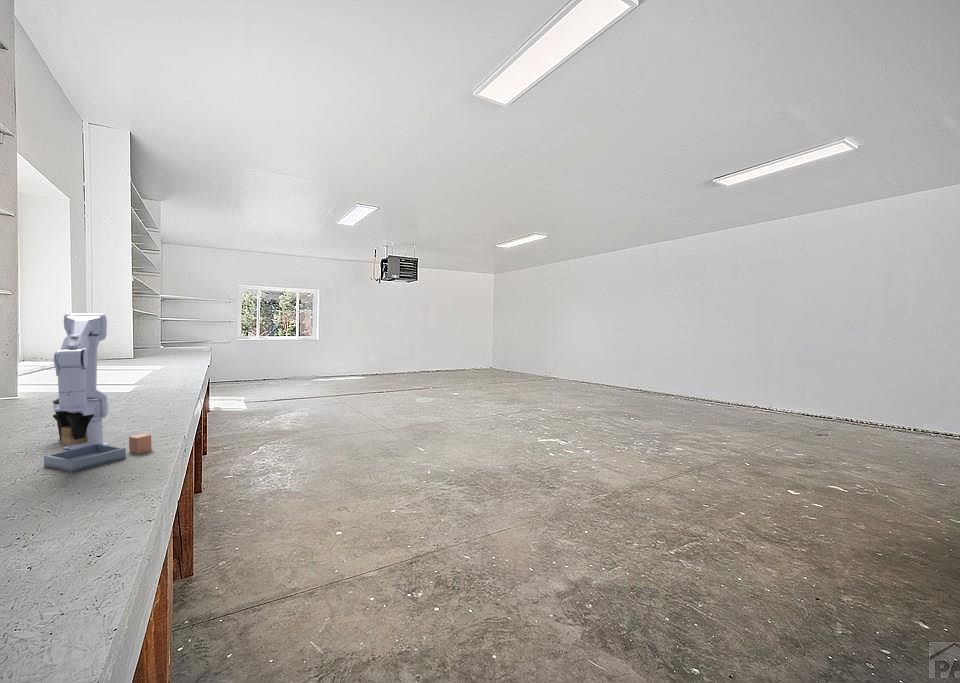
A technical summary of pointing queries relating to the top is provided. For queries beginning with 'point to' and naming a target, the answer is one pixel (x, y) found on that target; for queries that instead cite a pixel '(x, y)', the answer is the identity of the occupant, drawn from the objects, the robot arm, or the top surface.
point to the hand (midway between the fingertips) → (74, 437)
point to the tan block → (71, 437)
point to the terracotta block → (140, 443)
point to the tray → (84, 457)
